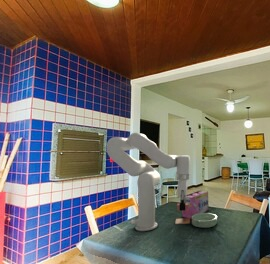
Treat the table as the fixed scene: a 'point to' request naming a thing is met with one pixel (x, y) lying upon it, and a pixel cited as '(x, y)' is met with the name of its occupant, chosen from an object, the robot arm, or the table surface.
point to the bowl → (204, 220)
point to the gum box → (196, 204)
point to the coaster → (183, 221)
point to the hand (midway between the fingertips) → (182, 209)
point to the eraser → (185, 206)
